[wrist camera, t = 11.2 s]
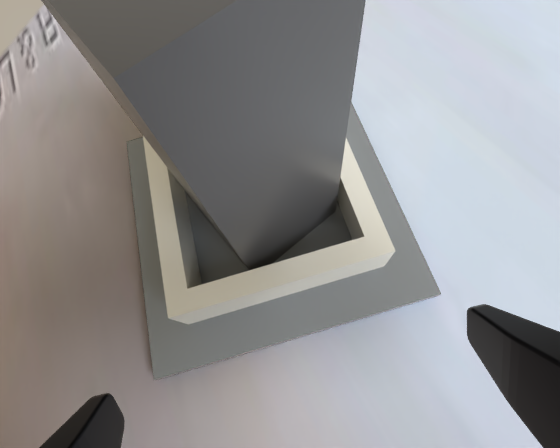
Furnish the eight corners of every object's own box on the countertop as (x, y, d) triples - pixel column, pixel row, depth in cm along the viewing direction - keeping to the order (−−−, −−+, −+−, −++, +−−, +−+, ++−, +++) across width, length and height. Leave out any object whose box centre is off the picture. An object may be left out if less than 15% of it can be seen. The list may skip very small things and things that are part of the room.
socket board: (436, 296, 16) (462, 282, 14) (159, 379, 16) (126, 382, 13) (340, 87, 22) (344, 46, 19) (131, 147, 22) (103, 114, 19)
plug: (335, 211, 18) (378, -89, 6) (254, 277, 17) (113, 78, 5) (271, 147, 20) (206, -176, 8) (195, 204, 19) (-10, -68, 7)
